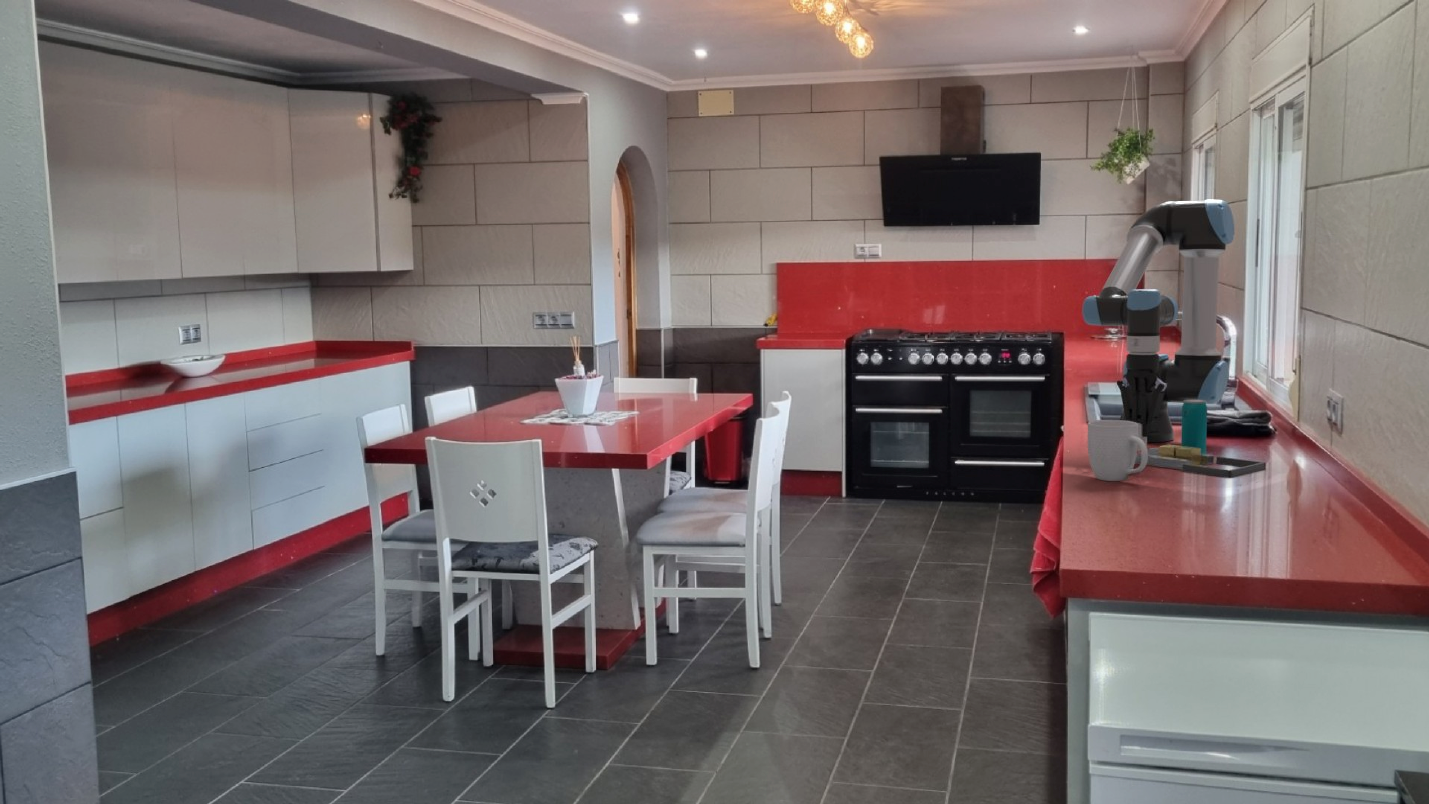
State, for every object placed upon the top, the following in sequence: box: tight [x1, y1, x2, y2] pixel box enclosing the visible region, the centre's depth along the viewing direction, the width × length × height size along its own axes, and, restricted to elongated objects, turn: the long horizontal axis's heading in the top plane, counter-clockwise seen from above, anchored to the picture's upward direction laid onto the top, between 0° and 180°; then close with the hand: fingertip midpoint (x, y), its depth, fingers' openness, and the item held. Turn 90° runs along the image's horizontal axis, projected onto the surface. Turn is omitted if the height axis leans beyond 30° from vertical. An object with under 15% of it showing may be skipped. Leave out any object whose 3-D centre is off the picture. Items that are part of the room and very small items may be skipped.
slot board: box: [1135, 447, 1215, 471], centre depth 294 cm, size 12×16×4 cm
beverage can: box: [1180, 399, 1208, 454], centre depth 303 cm, size 6×6×15 cm
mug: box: [1087, 419, 1148, 482], centre depth 281 cm, size 15×11×13 cm
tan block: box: [1158, 444, 1183, 458], centre depth 293 cm, size 4×4×4 cm
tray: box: [1182, 456, 1267, 478], centre depth 283 cm, size 15×12×3 cm
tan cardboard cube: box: [1176, 446, 1201, 466], centre depth 290 cm, size 4×4×4 cm
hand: (1140, 449), depth 299 cm, fingers closed
